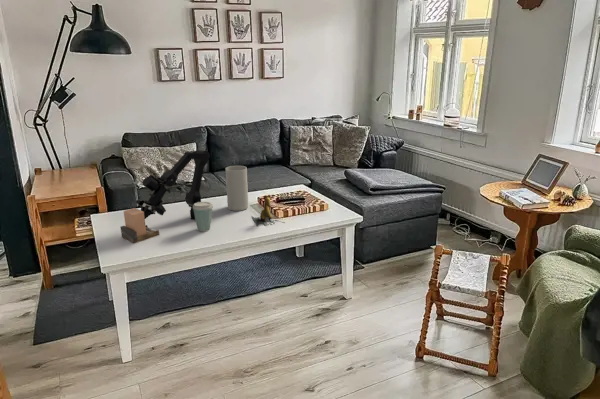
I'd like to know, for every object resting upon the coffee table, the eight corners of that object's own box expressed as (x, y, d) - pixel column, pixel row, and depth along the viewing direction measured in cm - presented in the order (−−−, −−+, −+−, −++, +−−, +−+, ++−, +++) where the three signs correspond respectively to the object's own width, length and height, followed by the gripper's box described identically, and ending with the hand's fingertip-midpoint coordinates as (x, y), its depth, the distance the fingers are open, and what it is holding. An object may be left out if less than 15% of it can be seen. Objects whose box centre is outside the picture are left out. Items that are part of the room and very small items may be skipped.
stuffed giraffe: (257, 226, 246) (257, 198, 242) (250, 216, 262) (250, 190, 258) (285, 224, 251) (285, 197, 246) (277, 214, 267) (277, 188, 263)
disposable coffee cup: (192, 227, 245) (190, 201, 240) (212, 224, 249) (210, 198, 244) (196, 234, 236) (194, 207, 231) (216, 231, 240) (214, 204, 235)
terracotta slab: (137, 229, 236) (134, 207, 232) (146, 233, 231) (143, 211, 227) (126, 232, 232) (123, 210, 228) (135, 237, 226) (132, 214, 223)
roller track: (146, 229, 242) (145, 219, 241) (159, 235, 235) (158, 224, 233) (121, 237, 232) (120, 226, 230) (134, 243, 225) (132, 232, 223)
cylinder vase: (247, 211, 269) (245, 170, 261) (226, 211, 269) (223, 170, 261) (249, 204, 281) (247, 165, 273) (229, 204, 281) (227, 165, 273)
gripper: (178, 206, 236) (161, 232, 232) (158, 199, 248) (142, 223, 243) (163, 196, 228) (146, 222, 224) (143, 189, 240) (126, 214, 235)
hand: (140, 221), depth 232 cm, fingers closed, pressing on terracotta slab
